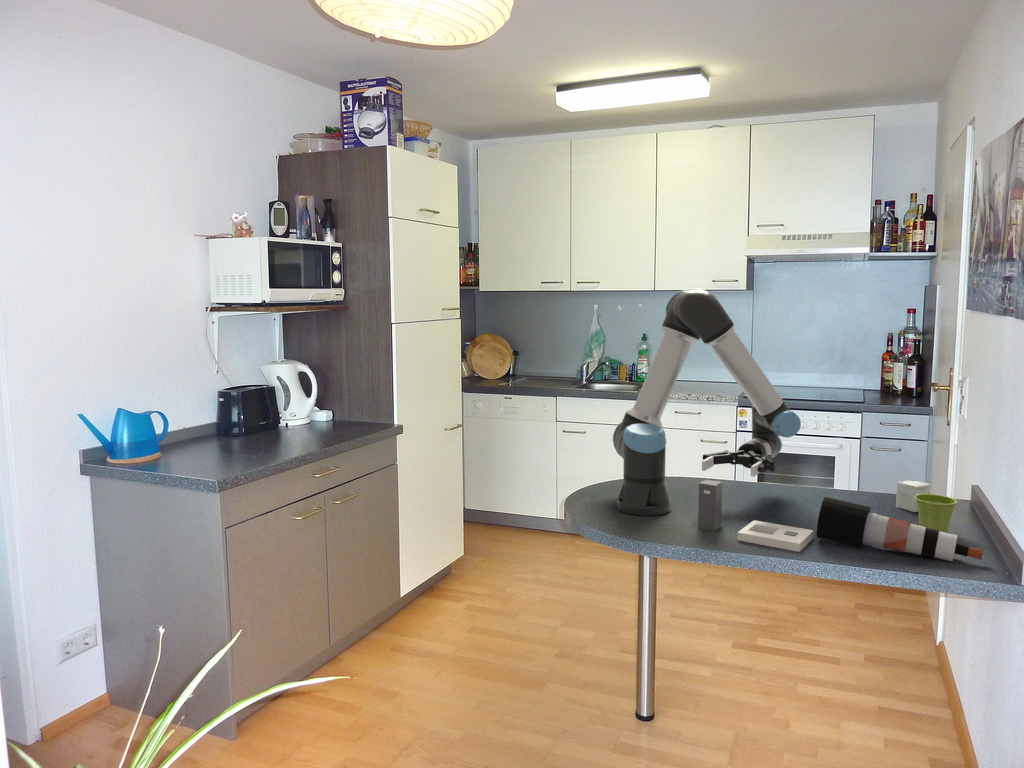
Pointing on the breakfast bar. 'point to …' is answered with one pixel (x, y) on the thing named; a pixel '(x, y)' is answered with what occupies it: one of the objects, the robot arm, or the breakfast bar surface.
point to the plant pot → (935, 511)
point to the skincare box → (910, 494)
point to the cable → (885, 532)
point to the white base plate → (776, 535)
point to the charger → (710, 505)
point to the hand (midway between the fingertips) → (727, 468)
